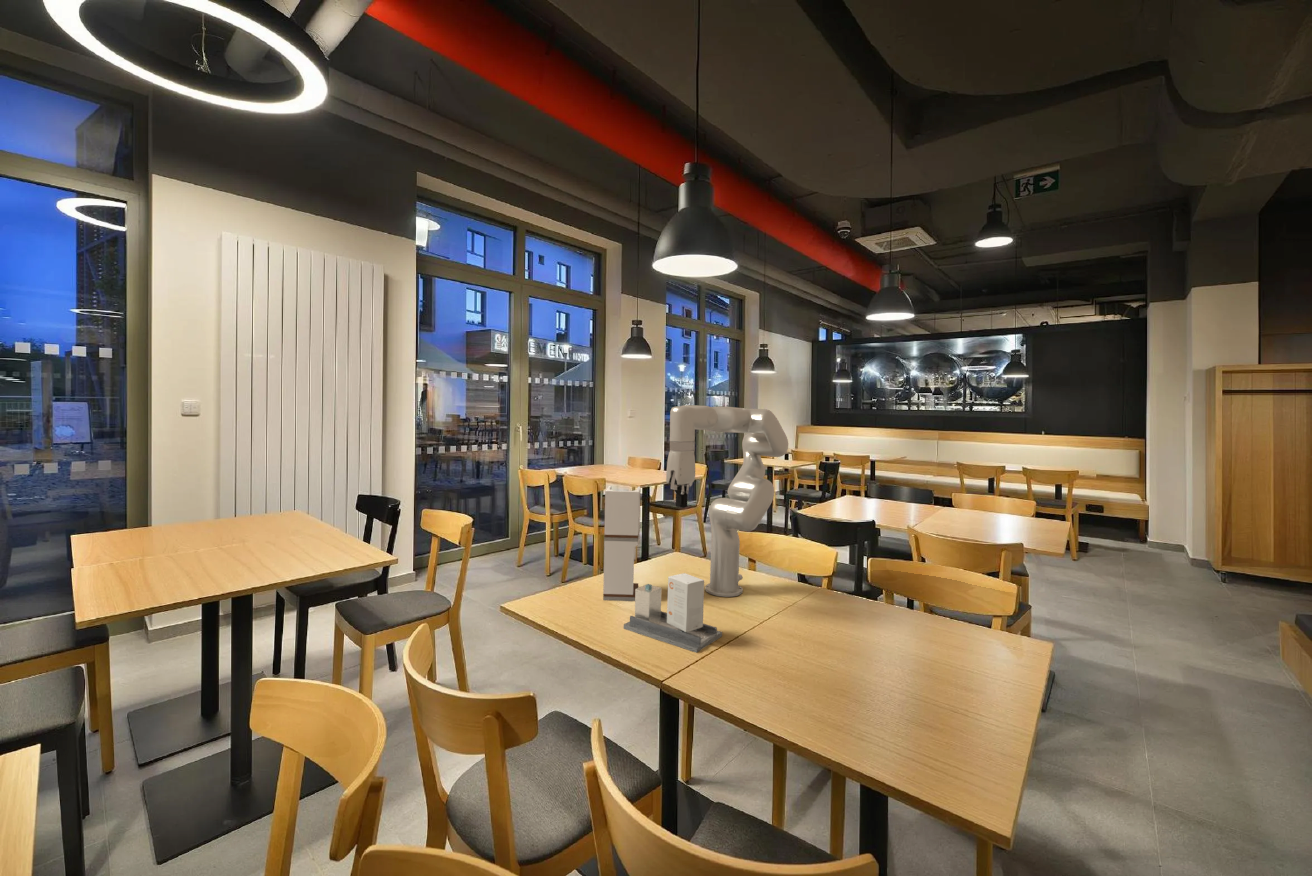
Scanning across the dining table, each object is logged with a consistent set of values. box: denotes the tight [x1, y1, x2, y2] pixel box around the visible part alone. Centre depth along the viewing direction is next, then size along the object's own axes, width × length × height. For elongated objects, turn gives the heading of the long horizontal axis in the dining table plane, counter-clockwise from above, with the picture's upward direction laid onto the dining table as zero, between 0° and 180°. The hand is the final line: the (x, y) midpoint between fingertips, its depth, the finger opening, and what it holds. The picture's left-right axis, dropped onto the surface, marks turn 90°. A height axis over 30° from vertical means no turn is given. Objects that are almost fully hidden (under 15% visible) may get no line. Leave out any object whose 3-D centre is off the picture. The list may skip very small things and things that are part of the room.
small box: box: [666, 572, 705, 632], centre depth 151 cm, size 8×6×13 cm
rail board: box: [623, 583, 723, 654], centre depth 154 cm, size 13×24×12 cm, turn 54°
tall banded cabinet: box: [602, 485, 642, 602], centre depth 183 cm, size 11×11×35 cm
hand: (681, 506), depth 171 cm, fingers closed
